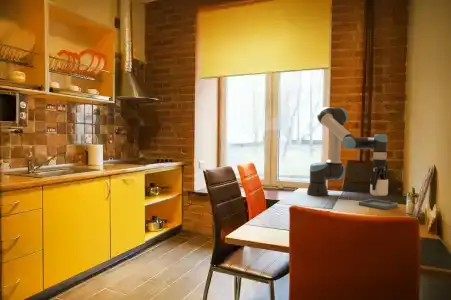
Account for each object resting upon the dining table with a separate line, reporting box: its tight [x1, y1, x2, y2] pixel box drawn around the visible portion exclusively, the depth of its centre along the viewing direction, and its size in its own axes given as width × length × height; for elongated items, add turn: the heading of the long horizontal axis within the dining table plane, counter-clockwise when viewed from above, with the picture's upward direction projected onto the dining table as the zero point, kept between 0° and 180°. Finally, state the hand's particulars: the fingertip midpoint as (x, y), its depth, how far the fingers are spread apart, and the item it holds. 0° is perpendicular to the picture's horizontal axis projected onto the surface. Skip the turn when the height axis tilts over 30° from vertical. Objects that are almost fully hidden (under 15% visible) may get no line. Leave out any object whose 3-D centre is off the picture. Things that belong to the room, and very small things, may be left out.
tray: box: [358, 198, 399, 211], centre depth 206 cm, size 17×17×2 cm
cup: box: [369, 177, 389, 197], centre depth 206 cm, size 10×10×10 cm
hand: (378, 194), depth 206 cm, fingers closed on cup, 10 cm apart
